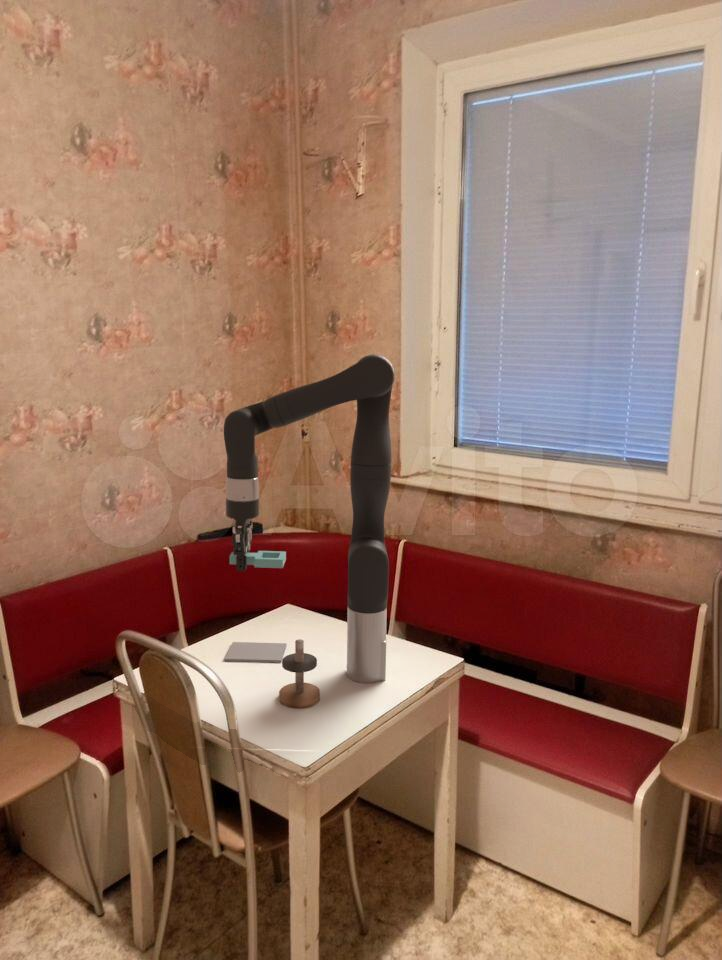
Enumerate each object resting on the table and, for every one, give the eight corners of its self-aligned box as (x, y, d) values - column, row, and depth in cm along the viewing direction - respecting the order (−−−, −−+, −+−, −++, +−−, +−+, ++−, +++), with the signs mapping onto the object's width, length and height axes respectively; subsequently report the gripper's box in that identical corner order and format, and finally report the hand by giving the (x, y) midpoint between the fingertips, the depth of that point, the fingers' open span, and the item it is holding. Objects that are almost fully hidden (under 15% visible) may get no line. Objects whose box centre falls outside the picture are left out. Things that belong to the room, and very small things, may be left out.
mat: (286, 645, 184) (286, 643, 184) (281, 662, 174) (281, 660, 174) (233, 644, 184) (232, 641, 184) (224, 661, 174) (224, 658, 174)
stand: (321, 689, 161) (321, 633, 158) (318, 709, 152) (318, 650, 150) (282, 688, 161) (281, 632, 159) (276, 707, 152) (275, 649, 150)
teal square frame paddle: (285, 559, 168) (285, 551, 167) (282, 568, 161) (282, 559, 161) (233, 558, 168) (233, 549, 167) (228, 566, 161) (228, 558, 161)
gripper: (254, 503, 155) (254, 578, 158) (263, 490, 169) (263, 559, 172) (219, 502, 155) (220, 577, 158) (231, 489, 169) (232, 559, 172)
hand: (242, 568), depth 165 cm, fingers closed on teal square frame paddle, 3 cm apart
